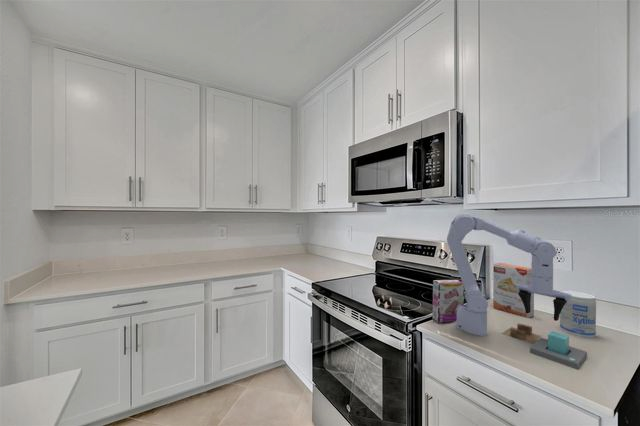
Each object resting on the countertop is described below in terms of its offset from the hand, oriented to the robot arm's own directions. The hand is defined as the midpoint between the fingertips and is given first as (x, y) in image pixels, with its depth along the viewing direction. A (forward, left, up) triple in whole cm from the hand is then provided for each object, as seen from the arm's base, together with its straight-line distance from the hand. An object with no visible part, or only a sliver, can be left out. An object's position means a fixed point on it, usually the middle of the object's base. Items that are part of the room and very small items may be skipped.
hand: (541, 316), depth 91 cm
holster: (-6, 0, -9) cm, 11 cm away
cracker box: (-17, +25, -10) cm, 31 cm away
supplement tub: (+5, +20, -10) cm, 22 cm away
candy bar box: (-29, -7, -10) cm, 31 cm away
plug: (+6, -7, -9) cm, 13 cm away
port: (+6, -7, -9) cm, 13 cm away
